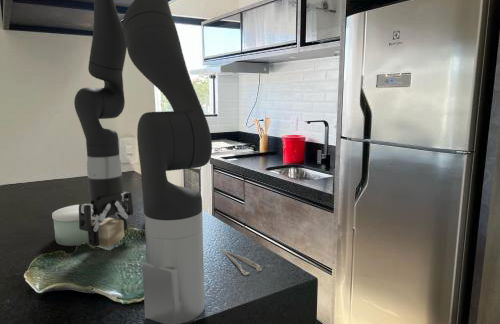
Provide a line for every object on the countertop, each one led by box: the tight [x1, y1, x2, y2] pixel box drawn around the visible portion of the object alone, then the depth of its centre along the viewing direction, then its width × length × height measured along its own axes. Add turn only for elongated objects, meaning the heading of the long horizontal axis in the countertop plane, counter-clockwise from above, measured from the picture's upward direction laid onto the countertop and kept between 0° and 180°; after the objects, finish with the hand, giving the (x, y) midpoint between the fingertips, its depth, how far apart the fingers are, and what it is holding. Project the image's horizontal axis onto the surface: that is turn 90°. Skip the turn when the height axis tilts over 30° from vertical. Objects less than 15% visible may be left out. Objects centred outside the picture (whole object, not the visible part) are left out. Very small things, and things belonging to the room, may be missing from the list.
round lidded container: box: [51, 204, 106, 247], centre depth 96 cm, size 12×12×7 cm
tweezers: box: [218, 248, 263, 276], centre depth 83 cm, size 18×5×2 cm, turn 32°
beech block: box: [93, 217, 125, 248], centre depth 90 cm, size 5×5×6 cm
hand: (109, 239), depth 90 cm, fingers open, 8 cm apart
